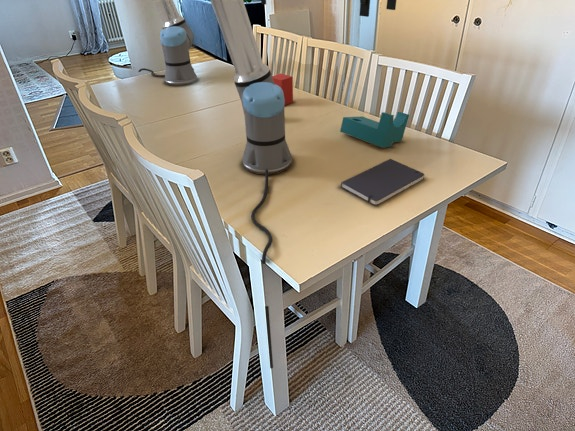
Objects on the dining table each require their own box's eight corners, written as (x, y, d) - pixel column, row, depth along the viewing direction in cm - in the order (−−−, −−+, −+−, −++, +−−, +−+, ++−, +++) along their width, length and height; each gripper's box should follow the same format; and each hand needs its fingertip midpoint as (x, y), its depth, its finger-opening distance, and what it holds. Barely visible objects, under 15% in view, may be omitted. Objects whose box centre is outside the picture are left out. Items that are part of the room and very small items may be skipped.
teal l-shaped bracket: (400, 145, 137) (409, 114, 132) (382, 147, 129) (391, 115, 125) (358, 130, 148) (365, 101, 143) (340, 131, 140) (346, 101, 136)
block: (293, 102, 169) (292, 76, 163) (282, 106, 165) (281, 80, 159) (281, 98, 173) (280, 73, 167) (271, 102, 169) (269, 76, 163)
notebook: (389, 163, 124) (340, 187, 113) (390, 158, 123) (341, 182, 112) (424, 178, 116) (375, 206, 105) (425, 174, 115) (376, 201, 104)
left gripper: (264, -50, 186) (266, 2, 199) (221, -47, 172) (227, 9, 185) (275, -50, 182) (277, 3, 194) (233, -46, 168) (238, 10, 180)
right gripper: (399, -77, 116) (390, 5, 128) (345, -76, 101) (341, 17, 114) (423, -78, 111) (411, 8, 124) (370, -76, 97) (363, 20, 109)
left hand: (253, 6), depth 190 cm, fingers open, 13 cm apart
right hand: (377, 12), depth 119 cm, fingers open, 13 cm apart
